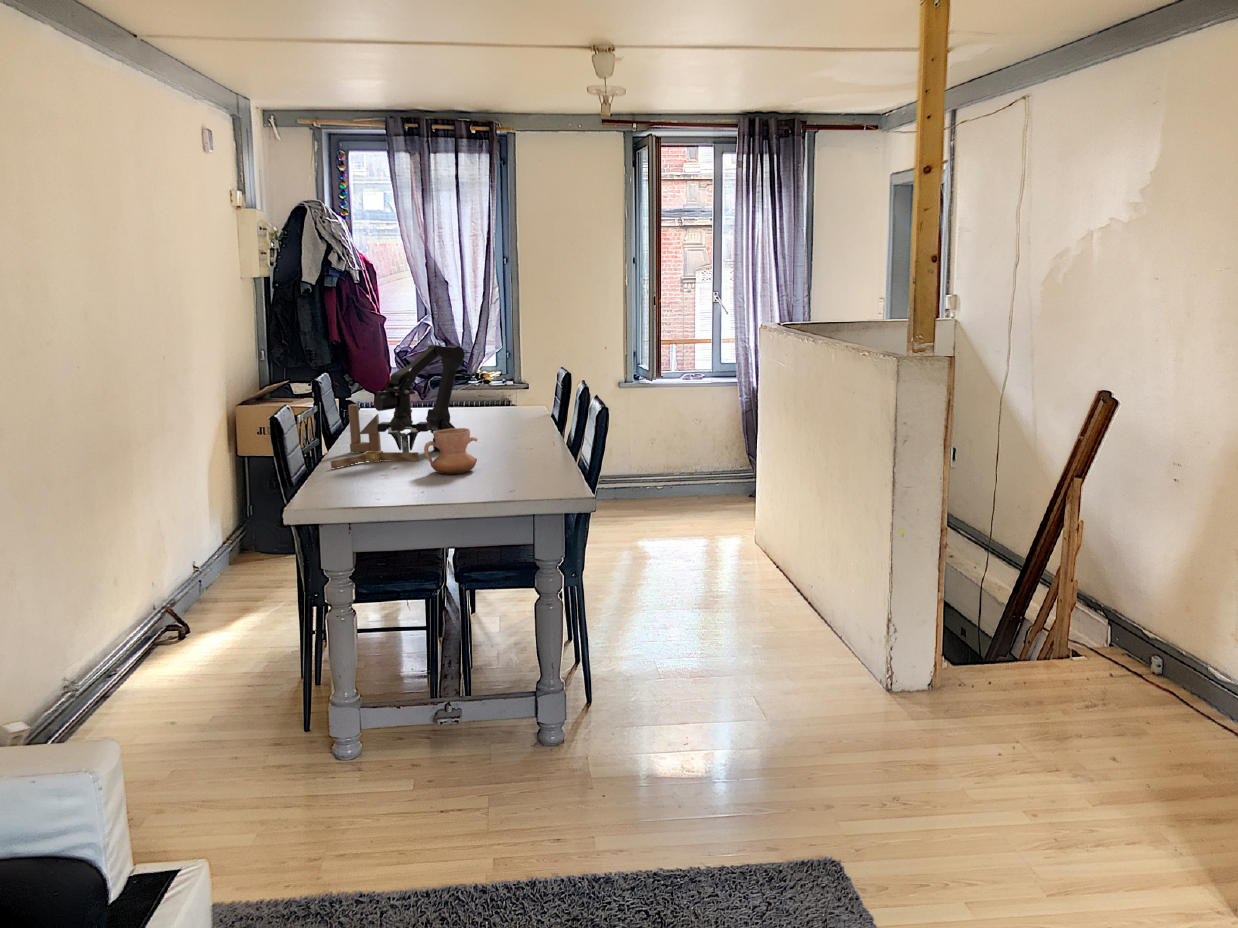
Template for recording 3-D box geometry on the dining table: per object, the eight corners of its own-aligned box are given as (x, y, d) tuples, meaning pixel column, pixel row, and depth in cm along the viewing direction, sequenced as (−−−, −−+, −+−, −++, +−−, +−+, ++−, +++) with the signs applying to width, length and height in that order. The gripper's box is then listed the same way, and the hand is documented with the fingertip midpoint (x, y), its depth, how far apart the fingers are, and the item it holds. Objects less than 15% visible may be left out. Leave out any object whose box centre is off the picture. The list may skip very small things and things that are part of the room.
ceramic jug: (476, 466, 351) (473, 425, 348) (483, 473, 337) (480, 431, 335) (423, 471, 346) (420, 429, 343) (428, 479, 332) (424, 436, 330)
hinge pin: (411, 456, 372) (410, 432, 370) (408, 458, 368) (407, 434, 367) (403, 456, 372) (401, 432, 370) (400, 458, 369) (398, 434, 367)
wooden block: (379, 452, 381) (375, 404, 377) (350, 453, 380) (346, 405, 377) (381, 450, 384) (377, 403, 381) (352, 451, 384) (348, 404, 380)
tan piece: (421, 459, 365) (420, 451, 365) (404, 469, 347) (403, 461, 347) (351, 459, 369) (350, 451, 368) (330, 469, 351) (330, 461, 350)
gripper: (369, 411, 360) (372, 454, 363) (420, 410, 358) (423, 454, 361) (380, 406, 371) (383, 448, 374) (430, 406, 368) (433, 448, 371)
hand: (405, 450), depth 370 cm, fingers open, 4 cm apart
